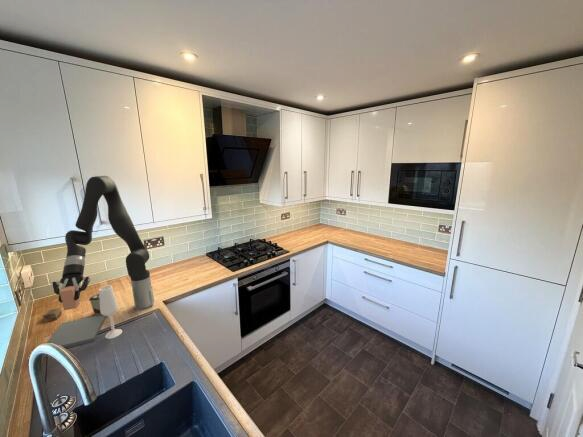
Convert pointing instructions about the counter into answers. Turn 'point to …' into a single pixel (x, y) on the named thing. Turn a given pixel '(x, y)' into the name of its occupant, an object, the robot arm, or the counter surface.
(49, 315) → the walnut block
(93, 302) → the food container
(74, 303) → the terracotta block
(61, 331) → the slate board
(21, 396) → the counter surface
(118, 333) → the champagne flute
